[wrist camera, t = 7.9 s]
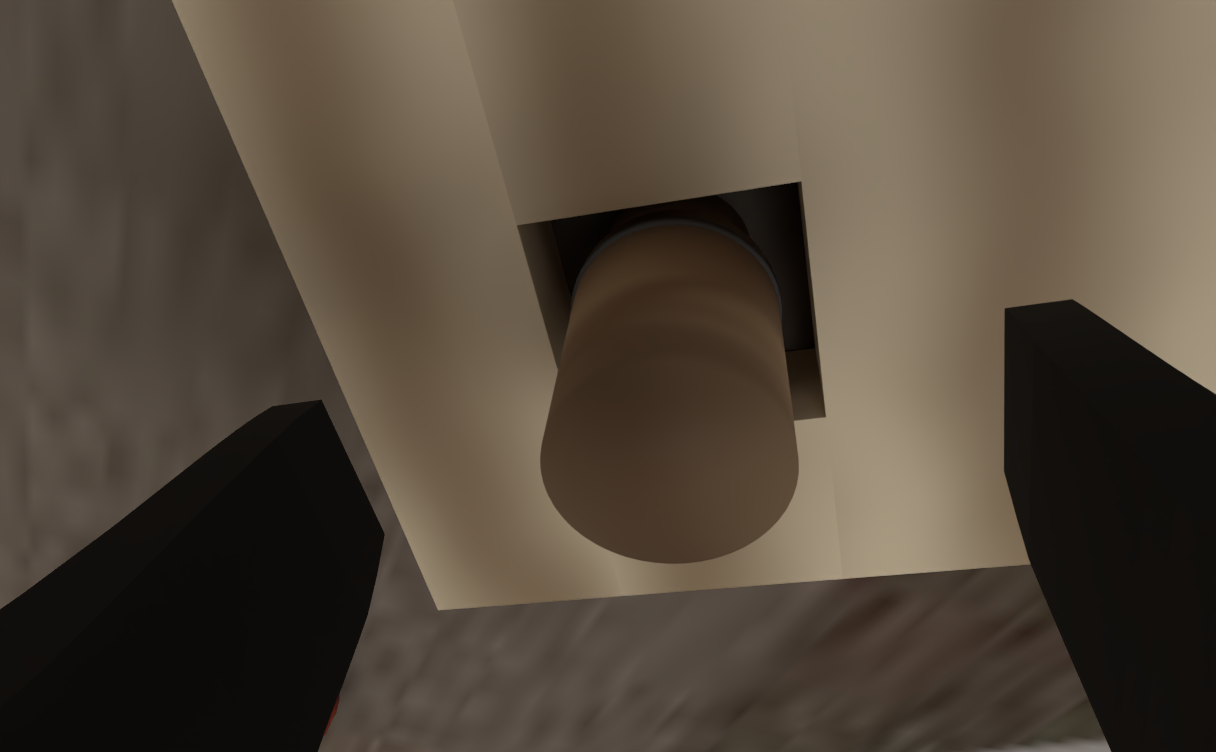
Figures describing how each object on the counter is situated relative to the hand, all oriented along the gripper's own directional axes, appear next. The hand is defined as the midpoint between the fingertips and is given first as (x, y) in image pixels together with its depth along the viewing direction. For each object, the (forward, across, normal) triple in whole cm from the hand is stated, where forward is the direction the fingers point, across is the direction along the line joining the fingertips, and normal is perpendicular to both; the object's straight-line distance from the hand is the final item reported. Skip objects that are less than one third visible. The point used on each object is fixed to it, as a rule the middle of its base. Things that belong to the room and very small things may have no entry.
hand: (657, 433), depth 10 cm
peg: (+10, +1, +3) cm, 10 cm away
